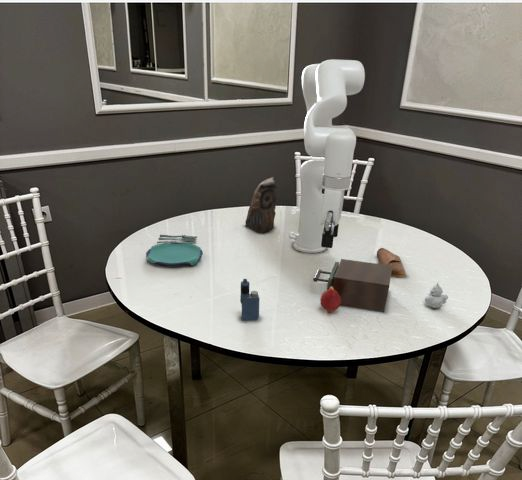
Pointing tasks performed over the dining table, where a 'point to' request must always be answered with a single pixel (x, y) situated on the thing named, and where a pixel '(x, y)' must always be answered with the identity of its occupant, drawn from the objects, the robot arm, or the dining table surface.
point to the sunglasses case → (391, 262)
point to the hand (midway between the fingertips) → (329, 241)
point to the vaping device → (249, 302)
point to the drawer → (331, 277)
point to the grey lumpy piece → (436, 297)
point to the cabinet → (362, 284)
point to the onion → (330, 300)
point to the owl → (262, 207)
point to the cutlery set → (175, 251)
